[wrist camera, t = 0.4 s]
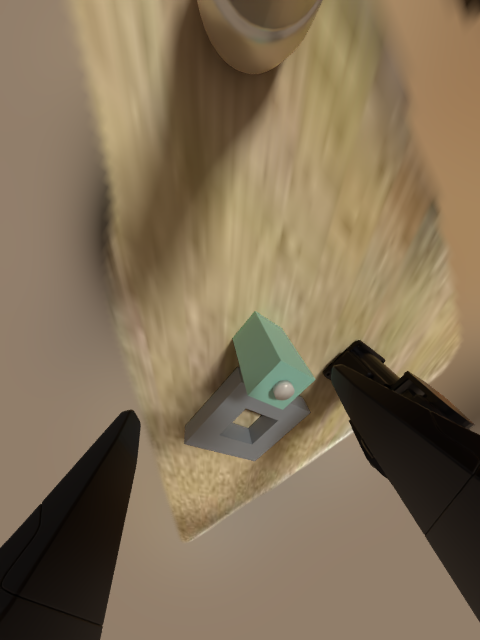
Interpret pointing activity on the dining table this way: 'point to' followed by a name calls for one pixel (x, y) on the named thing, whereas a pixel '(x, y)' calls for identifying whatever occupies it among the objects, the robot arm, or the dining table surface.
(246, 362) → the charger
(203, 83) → the dining table surface
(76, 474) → the robot arm
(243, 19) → the plastic bottle
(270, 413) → the plate
